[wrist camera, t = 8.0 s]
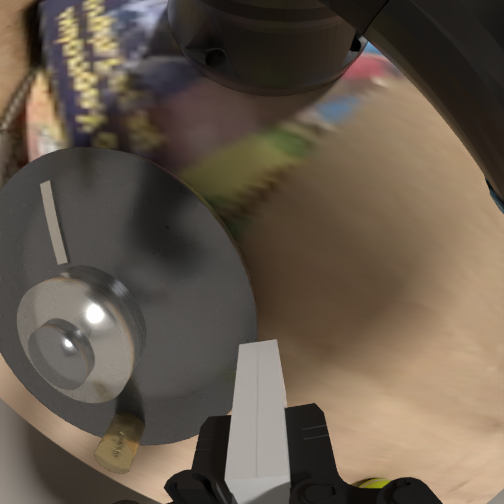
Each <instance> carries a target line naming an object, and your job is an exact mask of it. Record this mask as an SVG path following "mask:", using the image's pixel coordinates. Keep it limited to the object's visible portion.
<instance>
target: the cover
mask: <svg viewBox="0 0 504 504" xmlns="http://www.w3.org/2000/svg"><path fill="white" fill-rule="evenodd" d="M17 328H18V334H19V338H20V342H21V344H22V347H23V349H24V351H25V353H26V356H27V357H28V359H29V361H30V362H31V364H32V365H33V367H34V368H35V369H36V371H37V372H38V373H39V374H40V375H41V376H42V377H43V378H44V379H45V380H46V381H47V382H48V383H49V384H50V385H51V386H52V387H54V388H55V389H57V390H58V391H59V392H61V393H63V394H64V395H66V396H68V397H70V398H73V399H76V400H78V401H82V402H87V403H102V402H106V401H109V400H111V399H113V398H115V397H116V396H117V395H119V394H120V392H121V391H122V390H123V388H124V386H125V385H126V383H127V381H128V379H129V378H130V376H131V374H132V373H133V371H134V369H135V367H136V366H137V364H138V362H139V360H140V359H141V357H142V355H143V353H144V350H145V348H146V342H147V330H146V324H145V320H144V317H143V314H142V311H141V309H140V307H139V305H138V303H137V302H136V300H135V298H134V297H133V296H132V294H131V293H130V292H129V290H128V289H127V288H126V287H125V286H124V285H123V284H122V283H121V282H120V281H118V280H117V279H116V278H115V277H113V276H112V275H110V274H109V273H107V272H105V271H103V270H101V269H98V268H95V267H91V266H85V265H78V266H72V267H68V268H66V269H64V270H62V271H60V272H58V273H57V274H55V275H53V276H51V277H50V278H48V279H46V280H44V281H43V282H41V283H39V284H38V285H36V286H34V287H32V288H31V289H30V290H28V291H27V292H26V294H25V295H24V296H23V298H22V299H21V301H20V304H19V307H18V312H17Z"/></svg>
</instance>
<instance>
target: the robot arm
mask: <svg viewBox="0 0 504 504" xmlns="http://www.w3.org/2000/svg"><path fill="white" fill-rule="evenodd" d="M167 14H168V21H169V26H170V29H171V32H172V35H173V37H174V39H175V41H176V43H177V44H178V46H179V48H180V49H181V51H182V52H183V54H184V56H185V57H186V58H187V59H188V61H189V62H190V63H191V64H192V65H193V66H194V67H195V68H196V69H197V70H199V71H200V72H201V73H202V74H204V75H205V76H207V77H208V78H210V79H211V80H213V81H215V82H217V83H219V84H221V85H223V86H226V87H228V88H231V89H234V90H237V91H241V92H245V93H250V94H256V95H265V96H284V95H293V94H299V93H304V92H308V91H311V90H314V89H317V88H320V87H322V86H324V85H326V84H328V83H330V82H332V81H333V80H335V79H336V78H338V77H339V76H340V75H342V74H343V73H344V72H345V71H346V70H347V69H348V68H349V67H350V66H351V65H352V64H353V63H354V62H355V61H356V59H357V58H358V57H359V56H360V55H361V53H362V52H363V50H364V49H365V47H366V45H367V43H368V41H369V42H370V43H371V44H372V45H373V46H374V47H375V48H377V49H378V50H379V51H380V52H381V53H382V54H383V55H384V56H385V57H386V58H387V59H388V60H390V61H391V62H392V63H393V64H394V65H395V66H396V67H397V68H398V69H399V70H400V71H401V72H402V73H403V74H404V75H405V76H406V77H407V78H408V79H409V80H410V81H411V83H412V84H413V85H414V86H415V87H416V88H417V89H418V90H419V91H420V92H421V93H422V94H423V95H424V97H425V98H426V99H427V100H428V101H429V102H430V103H431V105H432V106H433V107H434V108H435V109H436V110H437V112H438V113H439V114H440V115H441V116H442V118H443V119H444V120H445V121H446V123H447V124H448V125H449V126H450V128H451V129H452V130H453V131H454V133H455V134H456V135H457V137H458V138H459V139H460V141H461V142H462V143H463V145H464V146H465V147H466V149H467V150H468V152H469V153H470V154H471V156H472V157H473V159H474V160H475V162H476V163H477V165H478V166H479V168H480V169H481V171H482V172H483V174H484V176H485V180H486V183H487V185H488V187H489V191H490V195H491V197H492V198H493V200H494V202H495V203H496V205H497V206H498V208H499V209H500V211H501V212H502V213H503V214H504V0H168V6H167ZM164 489H165V490H166V492H167V493H168V494H169V496H170V497H171V498H172V500H173V502H170V503H167V504H443V503H442V502H441V501H440V500H439V499H438V498H437V496H436V495H435V494H434V493H433V492H432V491H431V489H430V488H429V487H428V486H427V485H426V484H425V483H423V482H422V481H421V480H419V479H415V478H412V477H405V478H398V479H395V480H393V481H390V482H389V483H388V484H386V485H385V486H383V487H382V488H360V487H355V486H352V485H349V484H348V483H346V482H345V481H343V480H342V479H341V477H340V476H339V474H338V472H337V468H336V464H335V459H334V455H333V450H332V446H331V442H330V437H329V433H328V429H327V425H326V420H325V416H324V412H323V411H322V410H321V409H320V408H319V407H318V406H317V405H316V404H315V403H312V404H307V405H301V406H295V407H288V408H287V401H286V391H285V385H284V379H283V373H282V367H281V361H280V355H279V350H278V344H277V339H274V340H268V341H261V342H254V343H247V344H240V345H239V353H238V362H237V371H236V380H235V389H234V398H233V407H232V415H225V416H210V417H208V418H207V419H206V421H205V422H204V423H203V425H202V426H201V427H200V432H199V436H198V441H197V446H196V451H195V455H194V460H193V464H192V469H191V470H183V471H181V472H179V473H176V474H174V475H173V476H172V477H171V478H170V479H168V480H167V482H166V484H165V486H164ZM113 504H139V503H137V502H135V501H131V500H122V501H118V502H115V503H113Z"/></svg>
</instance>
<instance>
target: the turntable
mask: <svg viewBox="0 0 504 504" xmlns="http://www.w3.org/2000/svg"><path fill="white" fill-rule="evenodd" d="M78 265H85V266H91V267H95V268H98V269H101V270H103V271H105V272H107V273H109V274H110V275H112V276H113V277H115V278H116V279H117V280H118V281H120V282H121V283H122V284H123V285H124V286H125V287H126V288H127V289H128V290H129V292H130V293H131V294H132V296H133V297H134V298H135V300H136V302H137V303H138V305H139V307H140V309H141V311H142V314H143V317H144V320H145V324H146V330H147V342H146V348H145V350H144V353H143V355H142V357H141V359H140V360H139V362H138V364H137V366H136V367H135V369H134V371H133V373H132V374H131V376H130V378H129V379H128V381H127V383H126V385H125V386H124V388H123V390H122V391H121V392H120V394H119V395H117V396H116V397H115V398H113V399H111V400H109V401H106V402H102V403H87V402H82V401H78V400H76V399H73V398H70V397H68V396H66V395H64V394H63V393H61V392H59V391H58V390H57V389H55V388H54V387H52V386H51V385H50V384H49V383H48V382H47V381H46V380H45V379H44V378H43V377H42V376H41V375H40V374H39V373H38V372H37V371H36V369H35V368H34V367H33V365H32V364H31V362H30V361H29V359H28V357H27V356H26V353H25V351H24V349H23V347H22V344H21V342H20V338H19V334H18V328H17V312H18V307H19V304H20V301H21V299H22V298H23V296H24V295H25V294H26V292H27V291H28V290H30V289H31V288H32V287H34V286H36V285H38V284H39V283H41V282H43V281H44V280H46V279H48V278H50V277H51V276H53V275H55V274H57V273H58V272H60V271H62V270H64V269H66V268H68V267H72V266H78ZM257 330H258V322H257V307H256V299H255V292H254V288H253V284H252V281H251V277H250V273H249V270H248V267H247V265H246V262H245V260H244V258H243V255H242V253H241V250H240V248H239V246H238V244H237V243H236V241H235V239H234V238H233V236H232V234H231V232H230V231H229V229H228V227H227V226H226V224H225V223H224V222H223V220H222V219H221V218H220V216H219V215H218V214H217V212H216V211H215V210H214V209H213V207H212V206H211V205H210V204H209V203H208V202H207V201H206V200H205V199H204V198H203V197H202V196H201V195H200V194H199V193H198V192H197V191H196V190H195V189H194V188H193V187H192V186H190V185H189V184H188V183H187V182H185V181H184V180H183V179H181V178H180V177H179V176H177V175H176V174H175V173H173V172H171V171H170V170H168V169H166V168H164V167H163V166H161V165H159V164H157V163H156V162H154V161H151V160H148V159H146V158H143V157H141V156H138V155H135V154H133V153H128V152H123V151H118V150H114V149H107V148H101V147H74V148H67V149H61V150H57V151H54V152H51V153H49V154H46V155H43V156H41V157H39V158H37V159H35V160H34V161H32V162H30V163H28V164H27V165H25V166H24V167H23V168H22V169H20V170H19V171H18V172H17V173H16V174H14V175H13V176H12V178H11V179H10V180H9V181H8V182H7V183H6V184H5V185H4V187H3V188H2V189H1V191H0V353H1V354H2V356H3V358H4V359H5V361H6V363H7V364H8V366H9V367H10V368H11V370H12V371H13V373H14V374H15V375H16V377H17V378H18V379H19V380H20V382H21V383H22V384H23V385H24V386H25V387H26V389H27V390H28V391H29V392H30V393H31V394H32V395H33V396H34V397H35V398H36V399H38V400H39V401H40V402H41V403H42V404H43V405H44V406H46V407H47V408H48V409H49V410H51V411H52V412H53V413H55V414H56V415H58V416H59V417H61V418H62V419H64V420H65V421H67V422H68V423H70V424H72V425H74V426H76V427H78V428H79V429H81V430H84V431H86V432H88V433H91V434H93V435H95V436H98V437H101V438H102V440H101V442H100V444H99V446H98V448H97V450H96V451H95V454H94V457H95V459H96V461H97V462H98V463H99V464H100V465H101V466H103V467H104V468H106V469H107V470H109V471H112V472H114V473H119V474H125V473H127V472H129V469H130V467H131V464H132V462H133V459H134V456H135V454H136V451H137V449H138V446H139V445H162V444H169V443H175V442H178V441H182V440H186V439H189V438H191V437H193V436H196V435H198V434H199V432H200V427H201V426H202V425H203V423H204V422H205V421H206V419H207V418H208V417H210V416H225V415H227V414H228V413H229V412H230V410H231V409H232V407H233V398H234V389H235V380H236V371H237V362H238V353H239V345H240V344H247V343H254V342H257Z"/></svg>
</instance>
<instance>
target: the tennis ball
mask: <svg viewBox="0 0 504 504" xmlns="http://www.w3.org/2000/svg"><path fill="white" fill-rule="evenodd" d="M389 482H390V480H388V479H384V478H376V479H372V480H369V481H366V482H365V483H363V484H361V485H360V486H359V487H360V488H382V487H383V486H385V485H386V484H388V483H389Z"/></svg>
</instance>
